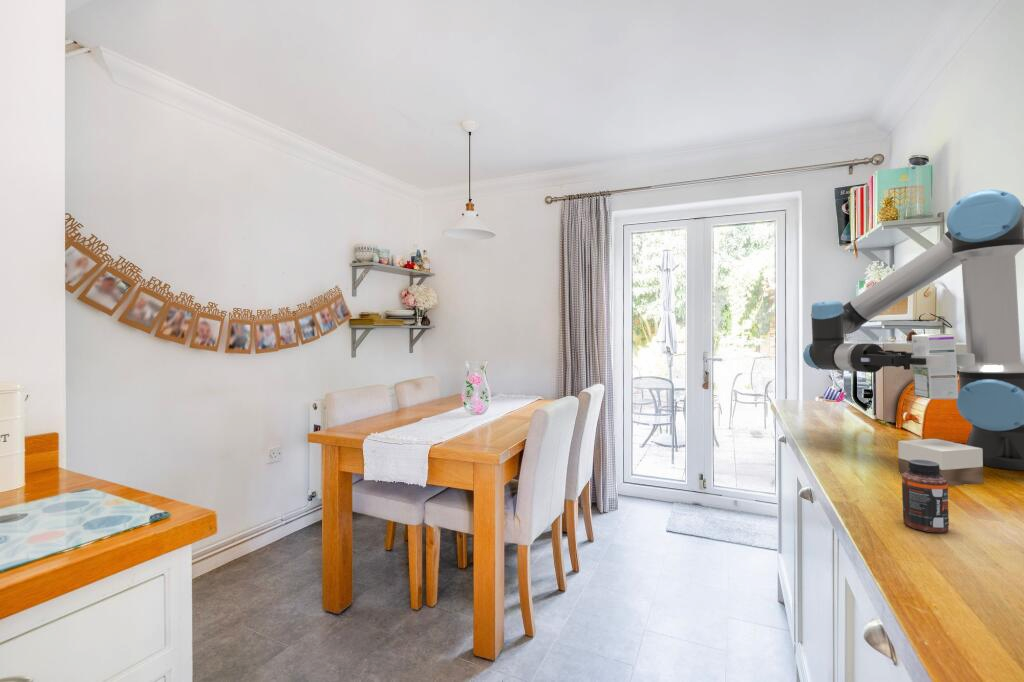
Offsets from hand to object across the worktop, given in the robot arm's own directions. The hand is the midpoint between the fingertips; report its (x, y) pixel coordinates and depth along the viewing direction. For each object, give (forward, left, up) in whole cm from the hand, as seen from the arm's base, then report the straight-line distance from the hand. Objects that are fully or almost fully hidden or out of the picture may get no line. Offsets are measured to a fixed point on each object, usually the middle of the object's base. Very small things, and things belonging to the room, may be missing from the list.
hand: (958, 361), depth 101 cm
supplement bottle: (+27, +19, -27) cm, 43 cm away
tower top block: (+1, -5, -23) cm, 24 cm away
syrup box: (+1, -5, -9) cm, 10 cm away
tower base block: (+1, -5, -27) cm, 28 cm away
